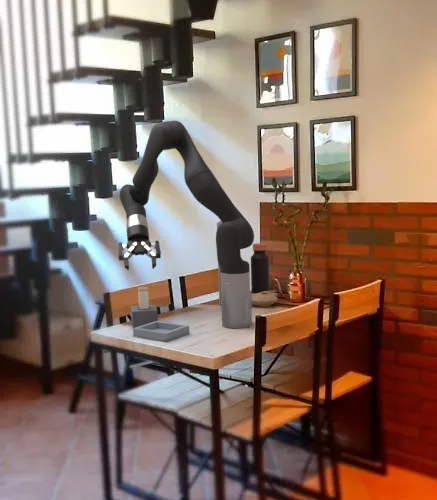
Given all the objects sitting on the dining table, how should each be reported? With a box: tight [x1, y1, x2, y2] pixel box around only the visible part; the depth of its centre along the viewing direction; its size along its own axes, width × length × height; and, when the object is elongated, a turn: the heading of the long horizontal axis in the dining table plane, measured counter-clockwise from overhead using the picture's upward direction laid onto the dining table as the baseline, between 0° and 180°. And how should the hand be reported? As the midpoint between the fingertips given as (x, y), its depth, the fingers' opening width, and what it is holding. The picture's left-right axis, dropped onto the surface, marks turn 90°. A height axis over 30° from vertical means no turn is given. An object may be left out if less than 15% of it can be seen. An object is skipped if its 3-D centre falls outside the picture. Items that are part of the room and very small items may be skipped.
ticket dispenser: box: [130, 304, 159, 329], centre depth 224 cm, size 8×9×6 cm
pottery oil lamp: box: [250, 290, 279, 308], centre depth 247 cm, size 9×12×7 cm
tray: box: [132, 320, 190, 343], centre depth 211 cm, size 13×11×2 cm
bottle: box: [250, 242, 270, 294], centre depth 263 cm, size 7×7×20 cm
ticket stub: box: [137, 286, 150, 310], centre depth 224 cm, size 3×4×9 cm
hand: (140, 267), depth 232 cm, fingers open, 8 cm apart
